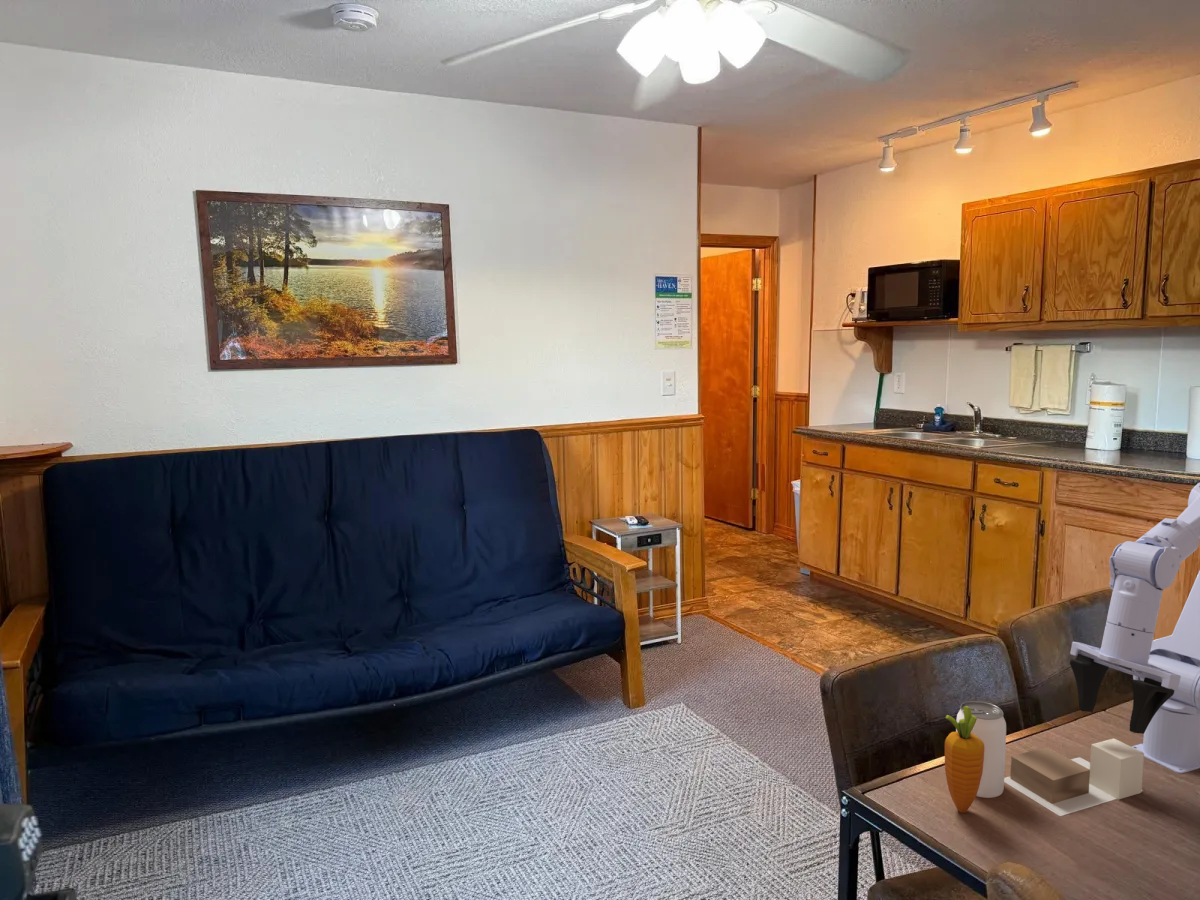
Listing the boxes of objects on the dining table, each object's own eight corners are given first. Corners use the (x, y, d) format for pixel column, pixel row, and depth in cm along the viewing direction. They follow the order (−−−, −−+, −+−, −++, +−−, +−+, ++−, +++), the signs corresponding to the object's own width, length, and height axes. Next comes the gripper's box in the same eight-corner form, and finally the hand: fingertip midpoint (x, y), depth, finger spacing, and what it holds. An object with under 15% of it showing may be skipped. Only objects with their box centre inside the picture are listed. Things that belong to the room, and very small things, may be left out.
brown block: (1045, 768, 119) (1047, 746, 119) (1088, 792, 113) (1090, 769, 112) (1010, 778, 117) (1011, 756, 116) (1051, 803, 110) (1053, 780, 110)
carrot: (965, 828, 106) (969, 722, 104) (934, 809, 110) (937, 707, 108) (990, 817, 108) (994, 713, 106) (958, 799, 113) (962, 699, 111)
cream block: (1111, 776, 117) (1113, 738, 116) (1141, 792, 112) (1144, 752, 112) (1088, 783, 115) (1091, 744, 114) (1118, 799, 111) (1121, 759, 110)
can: (1009, 802, 112) (1012, 721, 110) (960, 798, 113) (962, 718, 111) (996, 777, 118) (999, 701, 116) (949, 773, 119) (952, 698, 118)
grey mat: (1079, 759, 122) (1079, 757, 122) (1143, 793, 113) (1143, 790, 113) (999, 781, 117) (999, 779, 117) (1059, 818, 108) (1059, 816, 107)
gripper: (1063, 610, 117) (1045, 700, 118) (1162, 639, 104) (1141, 741, 104) (1097, 615, 120) (1078, 703, 120) (1197, 645, 106) (1177, 744, 106)
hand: (1110, 721), depth 112 cm, fingers open, 7 cm apart
